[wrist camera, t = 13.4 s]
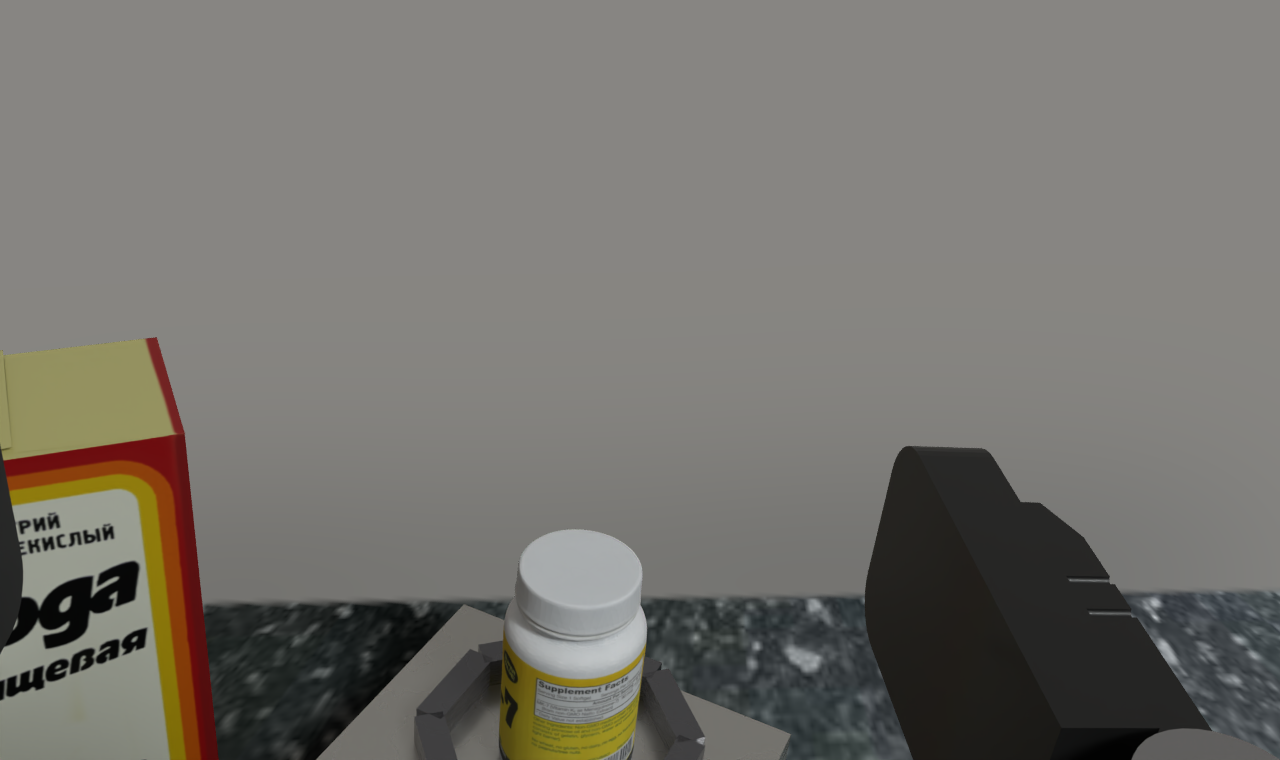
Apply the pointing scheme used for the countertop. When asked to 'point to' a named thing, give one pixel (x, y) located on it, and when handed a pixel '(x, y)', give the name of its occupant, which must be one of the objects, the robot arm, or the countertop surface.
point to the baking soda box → (102, 562)
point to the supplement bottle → (573, 650)
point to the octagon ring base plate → (470, 709)
